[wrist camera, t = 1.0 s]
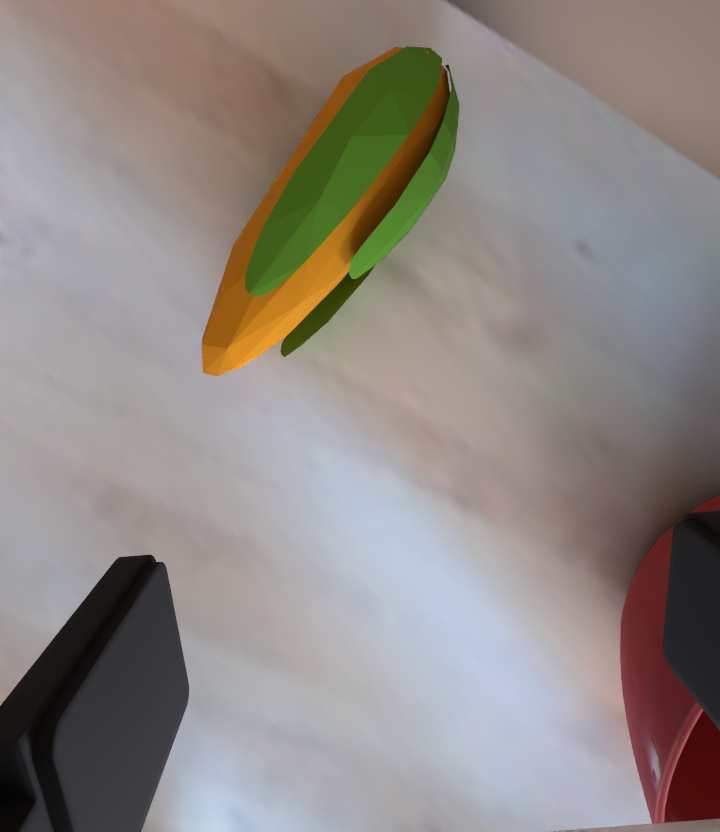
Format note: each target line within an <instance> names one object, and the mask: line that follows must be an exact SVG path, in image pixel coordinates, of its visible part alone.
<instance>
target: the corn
mask: <svg viewBox="0 0 720 832" xmlns="http://www.w3.org/2000/svg"><path fill="white" fill-rule="evenodd" d="M441 64H442V58H441V57H440V56H439V55H438V54H436V53H435V52H434V51H433V50H432V49H431V48H421V47H405V48H400V47H395V48H393V49H391V50H390V51H388V52H386V53H384V54H383V55H381V56H379V57H377V58H376V59H374V60H372V61H370V62H369V63H367V64H365V65H364V66H362V67H360V68H358V69H357V70H355V71H353V72H351V73H350V74H348V75H346V76H344V77H343V78H342V79H341V80H340V82H339V83H338V85H337V87H336V88H335V90H334V91H333V93H332V94H331V96H330V97H329V99H328V100H327V102H326V103H325V105H324V107H323V108H322V110H321V111H320V113H319V114H318V116H317V117H316V119H315V120H314V122H313V123H312V125H311V126H310V128H309V130H308V131H307V133H306V134H305V136H304V137H303V139H302V140H301V142H300V143H299V145H298V146H297V148H296V150H295V151H294V153H293V154H292V156H291V157H290V159H289V160H288V162H287V163H286V165H285V166H284V168H283V170H282V171H281V173H280V174H279V176H278V177H277V179H276V180H275V182H274V183H273V185H272V186H271V188H270V189H269V191H268V193H267V194H266V196H265V197H264V199H263V200H262V202H261V203H260V205H259V206H258V208H257V209H256V211H255V213H254V214H253V216H252V217H251V219H250V220H249V222H248V223H247V225H246V226H245V228H244V229H243V231H242V233H241V234H240V236H239V237H238V239H237V240H236V242H235V243H234V245H233V248H232V251H231V254H230V257H229V260H228V263H227V266H226V269H225V272H224V275H223V278H222V281H221V284H220V287H219V290H218V293H217V296H216V299H215V302H214V305H213V308H212V311H211V314H210V317H209V320H208V323H207V326H206V329H205V332H204V335H203V338H202V358H203V373H207V374H211V375H215V376H219V375H221V374H224V373H226V372H229V371H232V370H234V369H237V368H240V367H242V366H244V365H245V364H247V363H248V362H250V361H251V360H253V359H254V358H256V357H257V356H259V355H260V354H262V353H263V352H265V351H266V350H268V349H269V348H271V347H272V346H274V345H275V344H277V343H278V342H279V341H281V340H282V339H284V338H285V337H286V338H285V339H284V341H283V343H282V346H281V354H282V356H284V357H285V356H287V355H288V354H290V353H291V352H293V351H294V350H295V349H297V348H298V347H299V346H301V345H302V344H303V343H304V342H305V341H307V340H308V339H309V338H310V337H311V336H312V335H313V334H315V333H316V332H317V331H318V330H319V329H320V328H321V327H323V326H324V325H325V324H326V323H327V322H328V321H329V320H330V319H331V318H332V316H333V315H334V314H335V313H336V312H337V311H338V309H339V308H340V307H341V306H342V305H343V304H344V302H345V301H346V300H347V299H348V298H349V297H350V296H351V294H352V293H353V292H354V291H355V290H356V289H357V287H358V286H359V285H360V284H361V283H362V282H363V280H364V279H365V278H366V277H367V276H368V275H369V273H370V272H371V270H372V269H373V268H374V266H375V265H376V264H377V263H378V262H380V261H381V260H382V259H383V258H384V257H385V256H386V255H387V254H388V253H389V252H390V251H391V250H392V249H393V248H394V247H395V246H396V245H397V244H398V243H399V242H400V241H401V239H402V238H403V237H404V236H405V235H406V234H407V233H408V232H409V231H410V230H411V229H412V227H413V226H414V225H415V223H416V222H417V220H418V219H419V217H420V216H421V214H422V213H423V211H424V210H425V208H426V207H427V206H428V204H429V203H430V201H431V200H432V198H433V197H434V195H435V194H436V192H437V191H438V189H439V188H440V186H441V185H442V184H443V182H444V181H445V178H446V175H447V172H448V170H449V167H450V164H451V161H452V158H453V155H454V152H455V146H456V136H457V125H458V115H459V102H458V98H457V95H456V91H455V87H454V83H453V80H452V76H451V72H450V68H449V65H445V66H446V68H447V69H448V71H449V73H450V81H451V93H450V91H449V83H448V75H447V71H446V70H445V68H444V67H443V66H442V65H441Z"/></svg>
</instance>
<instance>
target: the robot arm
mask: <svg viewBox="0 0 720 832" xmlns="http://www.w3.org/2000/svg"><path fill="white" fill-rule="evenodd" d="M662 649H663V655H664V658H665V660H666V663H667V665H668V666H669V668H670V669H671V671H672V672H673V673H674V674H675V675H676V677H677V678H678V679H679V680H680V682H681V683H682V684H683V685H684V687H685V688H686V689H687V690H688V692H689V693H690V694H691V695H692V697H693V698H694V699H695V700H696V702H697V703H698V704H699V705H700V707H701V708H702V709H703V710H704V711H705V713H706V714H707V715H708V716H709V718H710V719H711V720H712V721H713V723H714V724H715V725H716V726H717V728H718V729H719V730H720V511H706V512H693V513H687V514H685V515H684V516H683V518H682V519H681V521H679V522H677V523H676V524H675V525H674V528H673V535H672V546H671V557H670V568H669V579H668V589H667V600H666V611H665V622H664V633H663V644H662ZM188 697H189V683H188V677H187V672H186V667H185V662H184V657H183V651H182V646H181V641H180V636H179V631H178V625H177V620H176V615H175V610H174V605H173V600H172V594H171V589H170V584H169V579H168V574H167V569H166V566H165V564H164V563H163V562H156V560H155V558H154V556H152V555H141V556H129V557H119V558H118V559H116V560H115V562H114V563H113V564H112V565H111V567H110V568H109V569H108V571H107V572H106V573H105V574H104V576H103V577H102V578H101V579H100V581H99V582H98V583H97V584H96V586H95V587H94V588H93V590H92V591H91V592H90V593H89V595H88V596H87V597H86V598H85V600H84V601H83V602H82V603H81V605H80V606H79V607H78V608H77V610H76V611H75V612H74V614H73V615H72V616H71V617H70V619H69V620H68V621H67V622H66V624H65V625H64V626H63V627H62V629H61V630H60V631H59V633H58V634H57V635H56V636H55V638H54V639H53V640H52V641H51V643H50V644H49V645H48V646H47V648H46V649H45V650H44V651H43V653H42V654H41V655H40V657H39V658H38V659H37V660H36V662H35V663H34V664H33V665H32V667H31V668H30V669H29V670H28V672H27V673H26V674H25V676H24V677H23V678H22V679H21V681H20V682H19V683H18V684H17V686H16V687H15V688H14V689H13V691H12V692H11V693H10V695H9V696H8V697H7V698H6V700H5V701H4V702H3V703H2V705H1V706H0V832H141V830H142V827H143V824H144V822H145V819H146V816H147V814H148V811H149V808H150V805H151V803H152V800H153V797H154V794H155V792H156V789H157V786H158V783H159V781H160V778H161V775H162V772H163V770H164V767H165V764H166V762H167V759H168V756H169V753H170V751H171V748H172V745H173V742H174V740H175V737H176V734H177V731H178V729H179V726H180V723H181V720H182V718H183V715H184V712H185V709H186V707H187V703H188ZM553 832H720V819H709V820H695V821H682V822H668V823H654V824H641V825H629V826H616V827H603V828H591V829H578V830H565V831H553Z"/></svg>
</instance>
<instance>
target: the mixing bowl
mask: <svg viewBox="0 0 720 832" xmlns="http://www.w3.org/2000/svg"><path fill="white" fill-rule="evenodd" d="M706 511H720V495H719V496H716V497H714V498H712V499H710V500H708V501H706V502H705V503H703V504H702V505H700V506H698V507H697V508H695V509H694V510H692V511H691V512H689V513H693V512H706ZM682 518H683V517H682ZM682 518H681V519H682ZM681 519H679V520H678V521H677V522H679V521H681ZM677 522H676V523H677ZM676 523H675V524H676ZM675 524H674V525H675ZM674 525H673V526H672V527H671V528H670V529H669V530H667V531H666V532H665V533H664V534H663V535H662V536H661V537H660V538H659V539H658V540H657V542H656V543H655V544H654V546H653V547H652V548H651V550H650V551H649V552H648V553H647V555H646V556H645V557H644V559H643V560H642V562H641V564H640V566H639V568H638V570H637V572H636V574H635V576H634V578H633V579H632V582H631V584H630V587H629V590H628V593H627V597H626V601H625V604H624V608H623V612H622V619H621V643H620V661H621V679H622V689H623V697H624V704H625V710H626V717H627V722H628V728H629V733H630V738H631V743H632V748H633V753H634V756H635V760H636V764H637V768H638V772H639V776H640V780H641V784H642V788H643V791H644V795H645V799H646V803H647V806H648V810H649V813H650V817H651V820H652V824H654V823H668V822H682V821H695V820H709V819H720V730H719V729H718V728H717V726H716V725H715V724H714V723H713V721H712V720H711V719H710V718H709V716H708V715H707V714H706V713H705V711H704V710H703V709H702V708H701V707H700V705H699V704H698V703H697V702H696V700H695V699H694V698H693V697H692V695H691V694H690V693H689V692H688V690H687V689H686V688H685V687H684V685H683V684H682V683H681V682H680V680H679V679H678V678H677V677H676V675H675V674H674V673H673V672H672V671H671V669H670V668H669V666H668V665H667V663H666V660H665V658H664V655H663V649H662V644H663V633H664V622H665V611H666V600H667V589H668V579H669V568H670V557H671V546H672V535H673V528H674Z"/></svg>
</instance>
